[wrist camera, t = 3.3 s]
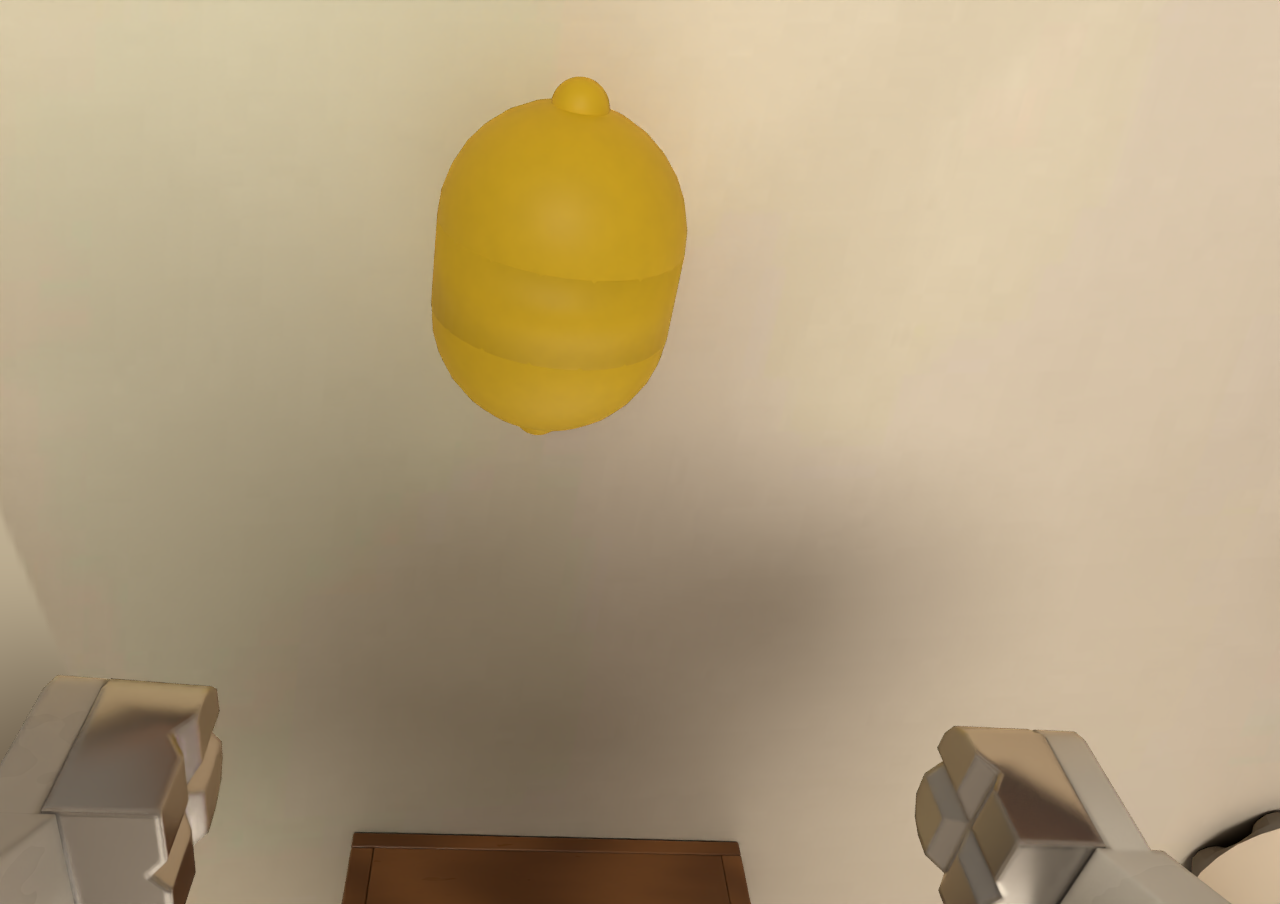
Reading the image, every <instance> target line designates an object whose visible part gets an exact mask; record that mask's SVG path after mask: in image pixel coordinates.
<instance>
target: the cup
mask: <svg viewBox="0 0 1280 904" xmlns="http://www.w3.org/2000/svg"><path fill="white" fill-rule="evenodd" d="M1191 873H1192V874H1194V875H1195V876H1196V877H1198V878H1199V879H1200V880H1201V881H1203V882H1204V883H1205V884H1207V885H1208V886H1209V887H1211V888H1212V889H1213V890H1214V891H1216V892H1217V893H1218V894H1220V895H1221V896H1222V897H1223V898H1225V899H1226V900H1227V901H1229V902H1230V903H1231V904H1280V813H1279V812H1275V813H1271V814H1266V815H1265V816H1263V817H1262V818H1261V819H1259V820H1258V821H1257V822H1256V823H1255V825H1254V826H1253V830H1252V834H1250V835H1249V836H1247V837H1246V838H1244V839H1243V840H1241V841H1240V842H1238V843H1236V844H1234V845H1232V846H1229V847H1227V848H1224V847H1219V846H1214V847H1208V848H1206V849H1203V850H1201V851H1199V852H1198V853H1197V854H1196V855H1195V856H1194V857H1193V858H1192V870H1191Z"/></svg>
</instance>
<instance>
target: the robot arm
mask: <svg viewBox="0 0 1280 904" xmlns="http://www.w3.org/2000/svg"><path fill="white" fill-rule="evenodd" d="M219 712H220V710H219V701H218V692H217V689H216V688H214V687H212V686H201V685H189V684H176V683H163V682H151V681H138V680H125V679H113V678H111V679H103V678H90V677H76V676H62V675H57V676H56V677H55V678H54V679H53V680H52V681H51V682H49V683H48V684H47V685H46V686H45V687H44V688H43V690H42V692H41V694H40V695H39V697H38V699H37V701H36V702H35V704H34V706H33V708H32V709H31V711H30V713H29V715H28V716H27V718H26V720H25V722H24V723H23V725H22V727H21V729H20V730H19V732H18V734H17V736H16V737H15V739H14V741H13V743H12V745H11V746H10V748H9V750H8V751H7V753H6V755H5V757H4V759H3V760H2V762H1V764H0V904H185V903H186V900H187V897H188V894H189V891H190V888H191V885H192V882H193V878H194V875H195V872H196V871H195V860H194V849H193V845H194V844H196V843H197V842H198V841H199V840H200V839H201V838H203V837H204V836H205V835H206V834H207V833H208V832H209V829H210V825H211V822H212V819H213V816H214V812H215V809H216V805H217V799H218V794H219V789H220V784H221V778H222V762H223V753H222V741H221V740H220V739H219V738H218V737H217V736H216V735H215V734H214V733H213V729H214V726H215V724H216V721H217V718H218V715H219ZM937 748H938V751H939V753H940V755H941V758H942V760H943V761H942V762H941V763H939V764H938V765H936V766H935V767H933V768H932V769H930V770H929V771H928V772H926V773H925V774H924V776H923V779H922V781H921V783H920V786H919V788H918V790H917V793H916V805H915V820H916V826H917V832H918V836H919V839H920V842H921V845H922V848H923V850H924V853H925V855H926V856H927V857H928V858H929V859H930V860H931V861H932V862H933V863H934V864H935V865H936V866H937V867H939V868H940V869H941V870H942V871H943V872H944V875H943V878H942V881H941V884H940V887H939V890H938V891H939V893H940V896H941V898H942V901H943V904H1231V903H1230V902H1229V901H1227V900H1226V899H1225V898H1223V897H1222V896H1221V895H1220V894H1218V893H1217V892H1216V891H1214V890H1213V889H1212V888H1211V887H1209V886H1208V885H1207V884H1205V883H1204V882H1203V881H1201V880H1200V879H1199V878H1198V877H1196V876H1195V875H1194V874H1192V873H1191V872H1190V871H1189V870H1187V869H1186V868H1185V867H1183V866H1182V865H1181V864H1180V863H1178V862H1177V861H1176V860H1174V859H1173V858H1172V857H1170V856H1169V855H1168V854H1167V853H1165V852H1164V851H1157V850H1151V849H1150V847H1149V846H1148V844H1147V842H1146V841H1145V839H1144V837H1143V836H1142V834H1141V832H1140V831H1139V829H1138V827H1137V826H1136V824H1135V822H1134V821H1133V819H1132V817H1131V816H1130V814H1129V812H1128V811H1127V809H1126V807H1125V806H1124V804H1123V802H1122V801H1121V799H1120V797H1119V796H1118V794H1117V792H1116V791H1115V789H1114V787H1113V786H1112V784H1111V782H1110V781H1109V779H1108V777H1107V776H1106V774H1105V773H1104V771H1103V769H1102V768H1101V766H1100V764H1099V763H1098V761H1097V759H1096V758H1095V756H1094V754H1093V753H1092V751H1091V749H1090V748H1089V746H1088V744H1087V743H1086V741H1085V740H1084V739H1083V738H1082V737H1081V736H1079V735H1078V734H1077V733H1076V732H1072V731H1051V730H1029V729H1015V728H991V727H968V726H954V727H952V728H951V729H949V730H948V731H947V732H945V734H944V735H943V737H942V739H941V741H940V743H939V745H938V747H937Z"/></svg>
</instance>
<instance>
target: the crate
mask: <svg viewBox="0 0 1280 904" xmlns="http://www.w3.org/2000/svg"><path fill="white" fill-rule="evenodd" d="M342 904H751V903H750V898H749V893H748V888H747V883H746V878H745V873H744V869H743V864H742V859H741V856H740V850H739V845H738V843H737V842H703V841H664V840H624V839H584V838H544V837H505V836H465V835H425V834H385V833H354V834H353V839H352V845H351V852H350V858H349V864H348V870H347V876H346V881H345V887H344V893H343V899H342Z"/></svg>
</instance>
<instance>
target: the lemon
mask: <svg viewBox="0 0 1280 904" xmlns="http://www.w3.org/2000/svg"><path fill="white" fill-rule="evenodd" d="M686 238H687V224H686V213H685V204H684V198H683V195H682V191H681V188H680V185H679V182H678V179H677V176H676V174H675V172H674V171H673V169H672V167H671V165H670V163H669V161H668V160H667V158H666V156H665V154H664V153H663V152H662V150H661V149H660V148H659V147H658V146H657V144H656V143H655V142H654V141H653V140H652V139H651V137H650V136H649V135H648V134H647V133H646V132H645V131H644V130H642V129H641V128H640V127H638V126H637V125H636V124H634V123H633V122H632V121H630V120H629V119H628V118H626V117H625V116H624V115H622V114H620V113H618V112H616V111H614V110H611V109H610V105H609V100H608V97H607V94H606V92H605V91H604V89H603V88H602V87H601V86H600V85H599V84H598V83H597V82H595V81H594V80H592V79H589V78H586V77H573V78H570V79H568V80H566V81H564V82H563V83H562V84H560V85H559V87H558V88H557V89H556V91H555V92H554V94H553V97H552V99H540V100H536V101H532V102H529V103H526V104H523V105H519V106H516V107H513V108H510V109H508V110H507V111H505V112H503V113H502V114H500V115H498V116H497V117H495V118H493V119H491V120H490V121H488V122H487V123H485V124H484V125H483V126H482V127H481V128H480V129H479V130H478V131H477V132H476V133H475V134H474V135H473V136H471V137H470V138H469V139H468V140H467V142H466V143H465V145H464V146H463V148H462V149H461V151H460V152H459V154H458V155H457V157H456V158H455V160H454V161H453V163H452V165H451V167H450V169H449V172H448V174H447V177H446V179H445V182H444V184H443V187H442V189H441V195H440V201H439V206H438V212H437V226H436V240H435V255H434V269H433V284H432V298H431V306H432V323H433V333H434V337H435V340H436V344H437V348H438V351H439V353H440V355H441V357H442V360H443V362H444V363H445V365H446V367H447V369H448V371H449V373H450V375H451V377H452V379H453V380H454V381H455V382H456V383H457V384H458V385H459V386H460V388H461V389H462V390H463V391H464V392H465V393H466V394H467V395H468V397H469V398H470V399H471V400H472V401H473V402H475V403H476V404H477V405H479V406H480V407H481V408H483V409H484V410H486V411H487V412H489V413H491V414H492V415H494V416H496V417H497V418H499V419H501V420H503V421H505V422H508V423H511V424H513V425H516V426H519V427H520V428H521V429H522V430H524V431H525V432H527V433H530V434H533V435H543V434H547V433H549V432H551V431H562V430H569V429H575V428H579V427H582V426H586V425H589V424H592V423H595V422H598V421H601V420H602V419H604V418H606V417H608V416H609V415H611V414H613V413H614V412H616V411H617V410H619V409H620V408H622V407H623V406H625V405H626V404H627V403H628V402H629V401H630V400H631V399H632V398H633V397H634V396H635V395H636V394H637V393H638V392H639V391H640V390H641V389H642V388H643V387H644V385H645V384H646V383H647V382H648V380H649V378H650V377H651V375H652V373H653V372H654V370H655V368H656V367H657V364H658V362H659V360H660V357H661V355H662V352H663V348H664V345H665V342H666V340H667V335H668V331H669V326H670V321H671V316H672V312H673V307H674V302H675V297H676V293H677V288H678V283H679V279H680V274H681V269H682V264H683V260H684V255H685V247H686Z"/></svg>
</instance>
